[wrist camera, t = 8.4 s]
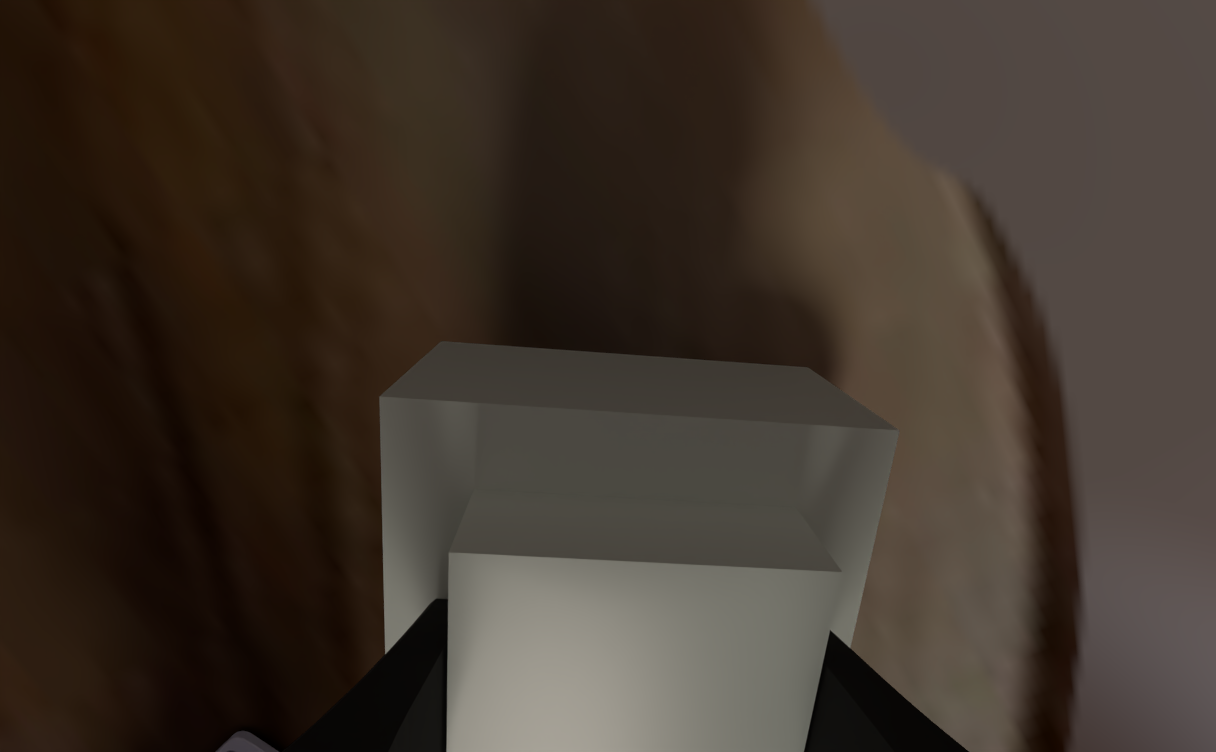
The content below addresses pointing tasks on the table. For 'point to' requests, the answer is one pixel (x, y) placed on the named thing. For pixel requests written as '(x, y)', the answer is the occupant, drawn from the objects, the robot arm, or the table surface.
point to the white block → (627, 543)
